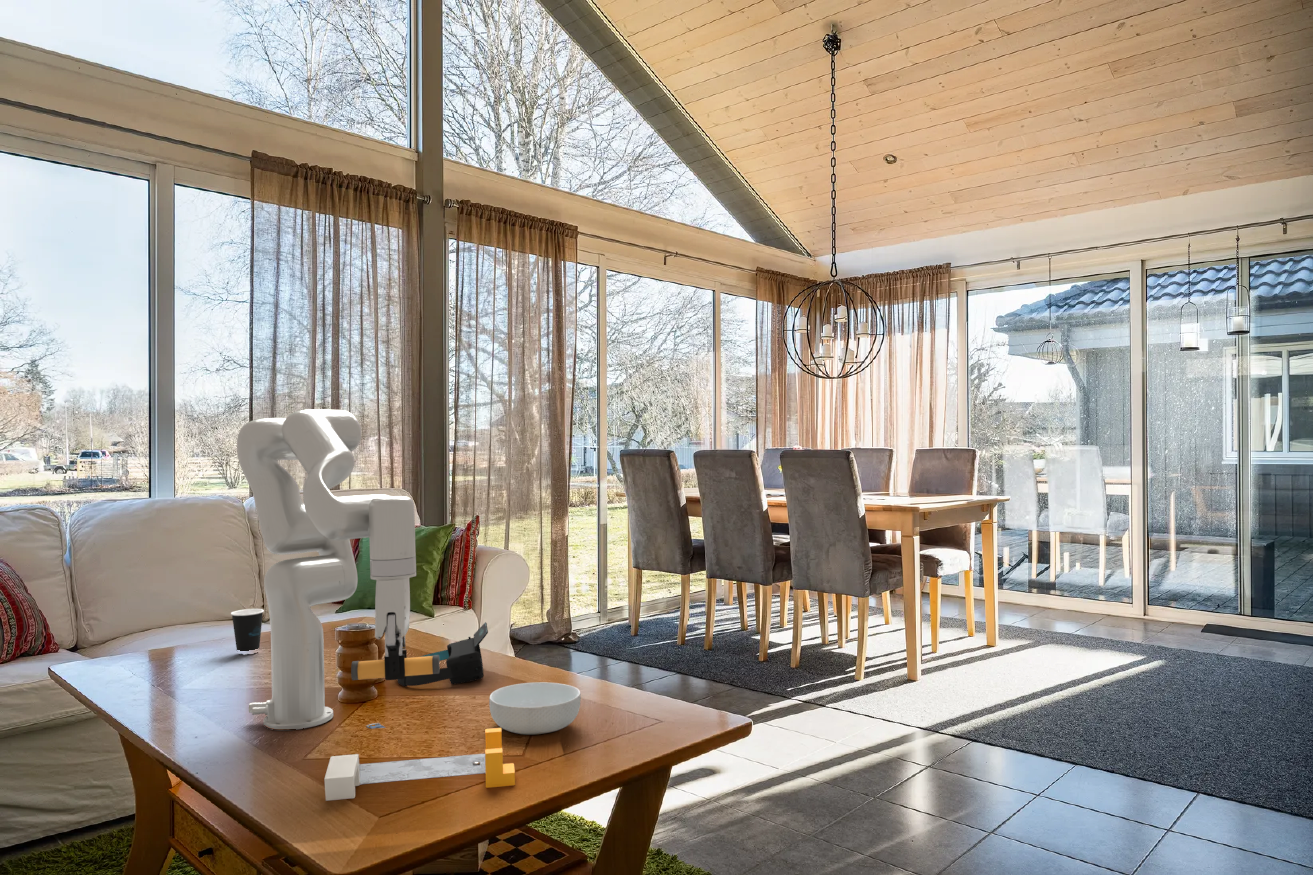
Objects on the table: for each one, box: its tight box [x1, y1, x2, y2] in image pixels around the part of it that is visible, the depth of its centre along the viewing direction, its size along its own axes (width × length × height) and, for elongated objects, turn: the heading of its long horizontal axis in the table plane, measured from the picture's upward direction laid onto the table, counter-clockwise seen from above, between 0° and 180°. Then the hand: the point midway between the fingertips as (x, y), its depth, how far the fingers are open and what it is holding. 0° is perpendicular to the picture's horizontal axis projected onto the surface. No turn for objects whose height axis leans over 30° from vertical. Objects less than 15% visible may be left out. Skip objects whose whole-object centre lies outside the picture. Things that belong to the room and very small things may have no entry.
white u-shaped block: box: [323, 753, 361, 802], centre depth 132 cm, size 4×6×5 cm
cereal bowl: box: [488, 681, 582, 735], centre depth 162 cm, size 17×17×7 cm
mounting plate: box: [359, 753, 486, 785], centre depth 141 cm, size 22×9×1 cm, turn 101°
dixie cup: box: [230, 608, 265, 651], centre depth 232 cm, size 8×8×11 cm
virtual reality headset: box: [397, 621, 489, 687], centre depth 203 cm, size 19×22×10 cm
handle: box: [350, 655, 441, 681], centre depth 150 cm, size 14×3×3 cm, turn 101°
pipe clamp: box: [484, 727, 516, 789], centre depth 139 cm, size 12×4×6 cm, turn 11°
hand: (396, 675), depth 150 cm, fingers closed on handle, 3 cm apart
